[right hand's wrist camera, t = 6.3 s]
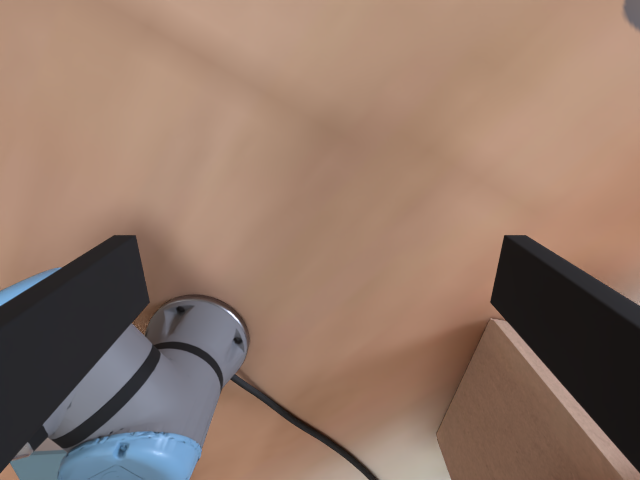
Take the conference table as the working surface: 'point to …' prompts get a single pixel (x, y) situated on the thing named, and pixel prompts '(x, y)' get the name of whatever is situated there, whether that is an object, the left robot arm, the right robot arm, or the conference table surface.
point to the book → (40, 462)
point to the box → (522, 421)
